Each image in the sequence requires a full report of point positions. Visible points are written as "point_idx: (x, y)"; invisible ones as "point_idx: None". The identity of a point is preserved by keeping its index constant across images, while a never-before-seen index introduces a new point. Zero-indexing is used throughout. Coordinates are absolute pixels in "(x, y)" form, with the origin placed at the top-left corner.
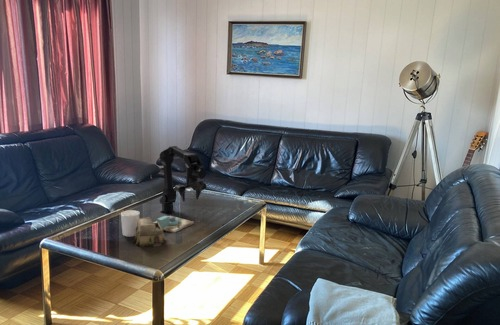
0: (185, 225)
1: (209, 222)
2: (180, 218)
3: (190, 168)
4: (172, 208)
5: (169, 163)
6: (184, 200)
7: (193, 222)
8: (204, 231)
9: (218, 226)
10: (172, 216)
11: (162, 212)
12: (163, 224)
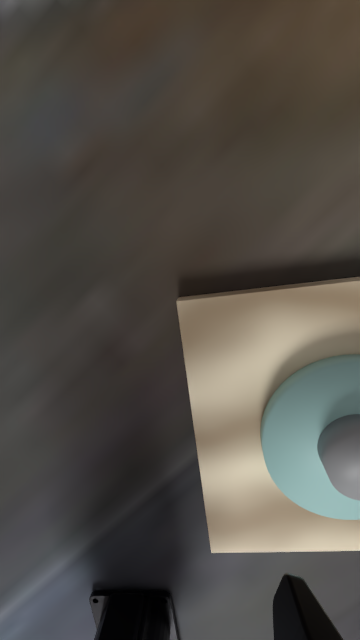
0: (316, 285)
1: (41, 202)
2: (201, 448)
3: None
4: (112, 626)
5: None
6: (304, 605)
7: (178, 299)
8: (273, 32)
9: (48, 32)
10: (338, 483)
11: (177, 635)
12: None
